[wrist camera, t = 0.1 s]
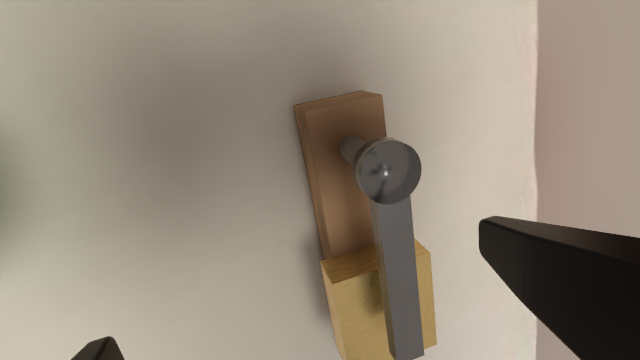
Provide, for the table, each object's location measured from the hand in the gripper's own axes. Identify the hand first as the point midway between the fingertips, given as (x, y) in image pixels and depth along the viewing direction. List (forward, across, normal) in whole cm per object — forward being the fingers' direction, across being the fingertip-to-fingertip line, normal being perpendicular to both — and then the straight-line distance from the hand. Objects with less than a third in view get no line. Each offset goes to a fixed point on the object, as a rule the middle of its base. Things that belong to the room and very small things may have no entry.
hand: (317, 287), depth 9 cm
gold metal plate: (+12, -5, +10) cm, 16 cm away
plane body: (+14, -5, +7) cm, 17 cm away
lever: (+8, -5, +5) cm, 10 cm away
